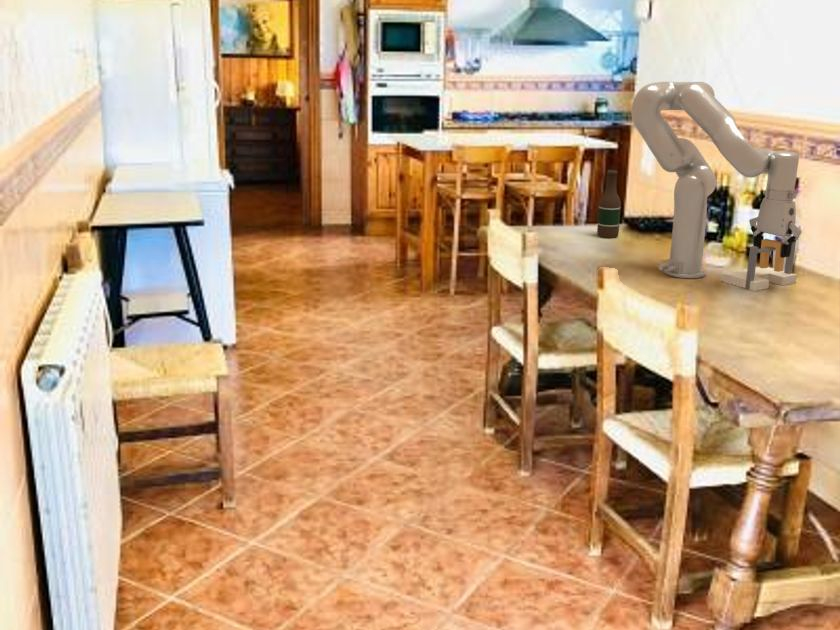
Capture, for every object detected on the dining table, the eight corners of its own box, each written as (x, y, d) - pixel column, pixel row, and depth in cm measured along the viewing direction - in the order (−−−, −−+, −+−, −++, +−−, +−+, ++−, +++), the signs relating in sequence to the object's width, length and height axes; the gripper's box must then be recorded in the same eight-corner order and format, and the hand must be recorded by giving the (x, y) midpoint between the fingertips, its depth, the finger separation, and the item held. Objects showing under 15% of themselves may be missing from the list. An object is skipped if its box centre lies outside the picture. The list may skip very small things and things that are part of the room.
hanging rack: (754, 291, 255) (759, 248, 251) (721, 281, 265) (726, 240, 261) (795, 282, 264) (801, 241, 260) (762, 273, 274) (767, 233, 270)
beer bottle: (620, 238, 318) (625, 172, 311) (598, 238, 319) (603, 172, 311) (616, 234, 326) (621, 168, 318) (595, 234, 326) (599, 168, 319)
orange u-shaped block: (763, 266, 263) (766, 238, 261) (782, 270, 258) (785, 242, 255) (759, 267, 262) (761, 239, 260) (778, 271, 257) (780, 243, 254)
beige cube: (795, 273, 274) (798, 251, 272) (772, 272, 275) (775, 250, 273) (791, 267, 281) (794, 246, 278) (768, 266, 282) (771, 245, 280)
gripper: (814, 199, 248) (804, 258, 254) (763, 189, 262) (755, 245, 268) (796, 201, 245) (787, 261, 250) (746, 191, 259) (738, 248, 264)
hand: (770, 253), depth 259 cm, fingers open, 9 cm apart
